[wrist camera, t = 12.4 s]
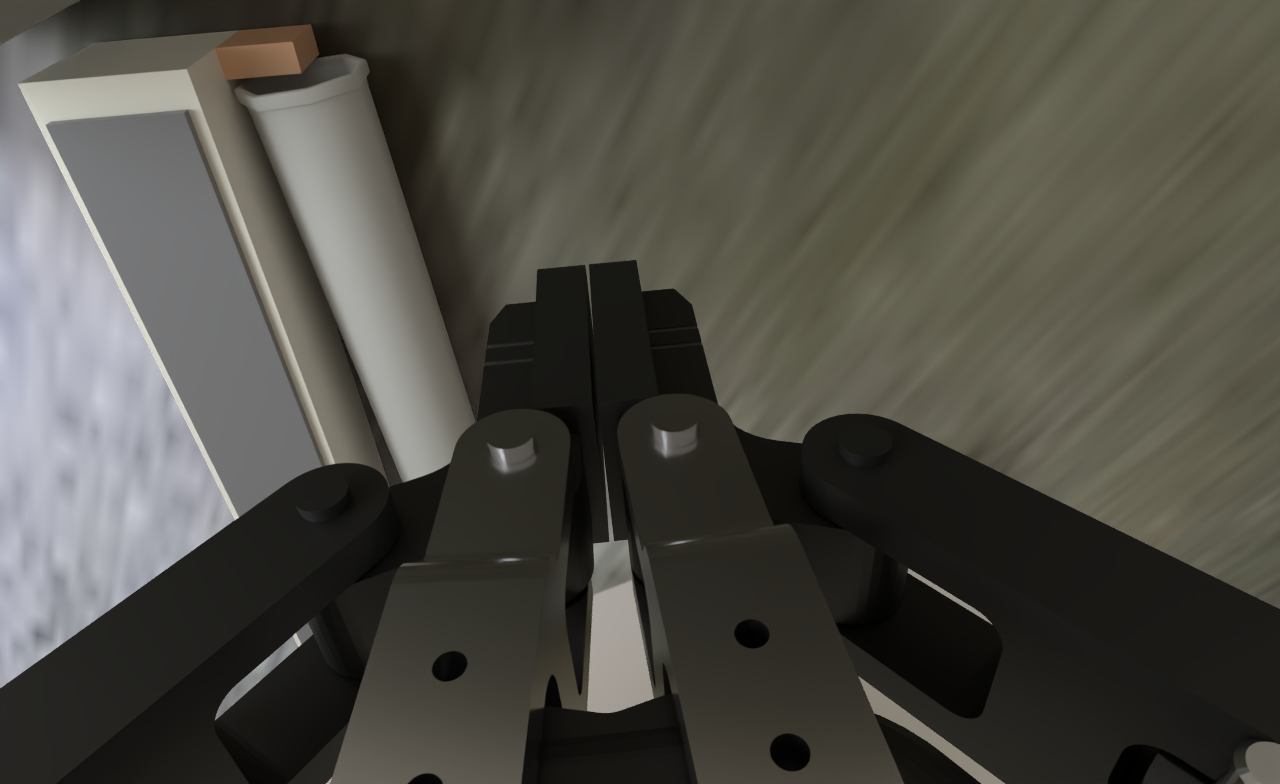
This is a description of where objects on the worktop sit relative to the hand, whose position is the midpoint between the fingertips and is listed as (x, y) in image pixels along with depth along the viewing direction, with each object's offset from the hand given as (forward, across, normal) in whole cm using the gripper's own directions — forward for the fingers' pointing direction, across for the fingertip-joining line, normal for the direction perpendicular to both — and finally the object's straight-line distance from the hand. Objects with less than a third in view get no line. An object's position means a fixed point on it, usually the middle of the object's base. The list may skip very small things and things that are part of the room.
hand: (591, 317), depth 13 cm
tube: (+28, +10, +14) cm, 33 cm away
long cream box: (+27, +15, +18) cm, 36 cm away
